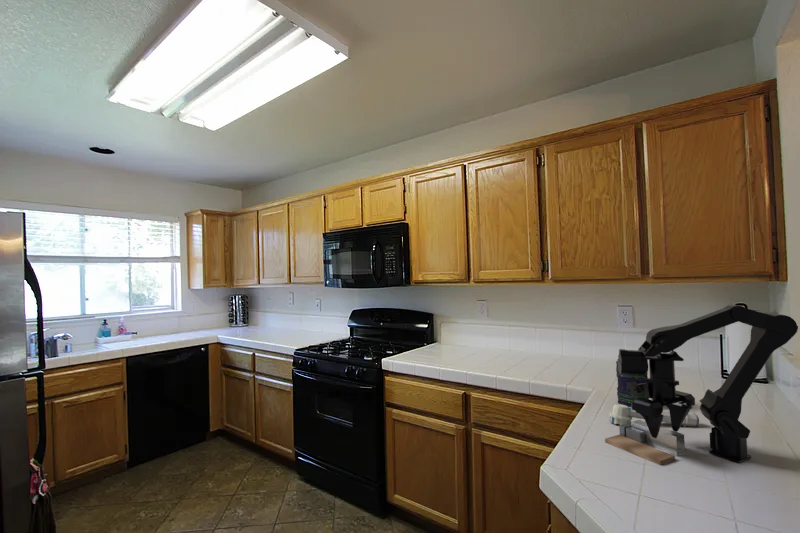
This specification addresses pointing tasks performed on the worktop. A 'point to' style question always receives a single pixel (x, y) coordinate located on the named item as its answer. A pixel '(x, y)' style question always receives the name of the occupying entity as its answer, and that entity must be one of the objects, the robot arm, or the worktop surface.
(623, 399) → the storage jar
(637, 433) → the vise
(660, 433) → the steel bar
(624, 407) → the toothbrush head
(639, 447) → the board
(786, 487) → the worktop surface
